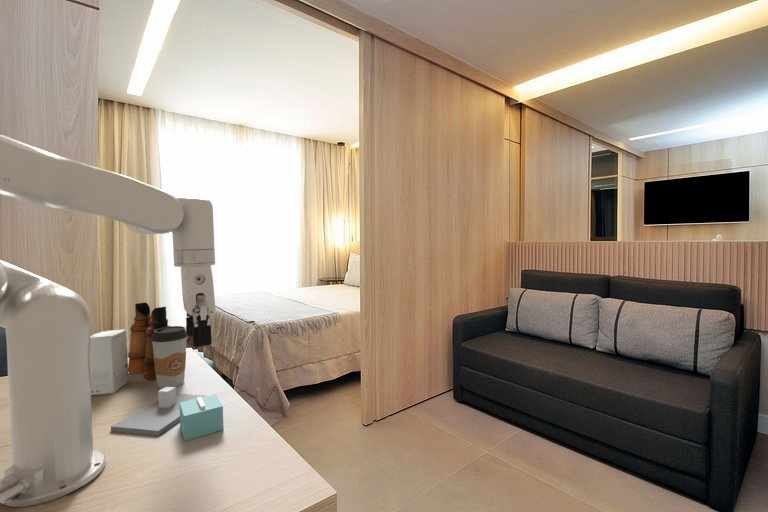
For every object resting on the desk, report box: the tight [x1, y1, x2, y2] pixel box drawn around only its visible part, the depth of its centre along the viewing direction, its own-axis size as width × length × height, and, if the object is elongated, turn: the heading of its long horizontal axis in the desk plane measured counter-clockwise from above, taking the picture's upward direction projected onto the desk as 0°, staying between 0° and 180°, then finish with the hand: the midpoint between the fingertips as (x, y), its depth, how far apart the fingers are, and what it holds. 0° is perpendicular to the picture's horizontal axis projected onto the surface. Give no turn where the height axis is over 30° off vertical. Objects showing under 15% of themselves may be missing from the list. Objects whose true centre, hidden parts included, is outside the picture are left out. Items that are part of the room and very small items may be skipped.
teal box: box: [179, 393, 224, 442], centre depth 73 cm, size 7×7×6 cm
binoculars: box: [127, 302, 170, 382], centre depth 104 cm, size 18×8×20 cm, turn 57°
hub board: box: [110, 386, 207, 437], centre depth 79 cm, size 16×11×5 cm
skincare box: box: [89, 329, 130, 396], centre depth 93 cm, size 8×6×15 cm
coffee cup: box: [151, 325, 188, 389], centre depth 95 cm, size 8×8×15 cm
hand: (198, 339), depth 74 cm, fingers open, 9 cm apart
